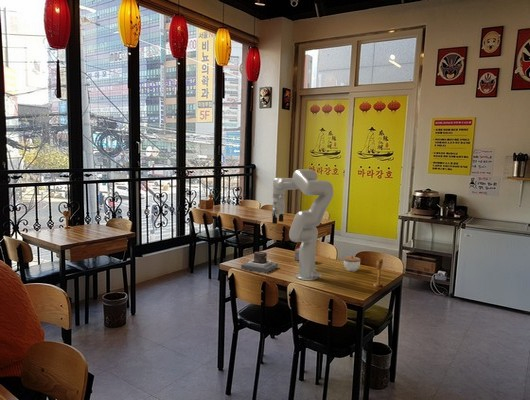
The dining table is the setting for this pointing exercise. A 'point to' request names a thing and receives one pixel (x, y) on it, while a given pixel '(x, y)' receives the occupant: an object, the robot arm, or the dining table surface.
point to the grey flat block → (259, 266)
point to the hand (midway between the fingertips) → (277, 222)
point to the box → (260, 257)
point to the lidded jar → (351, 263)
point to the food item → (297, 254)
